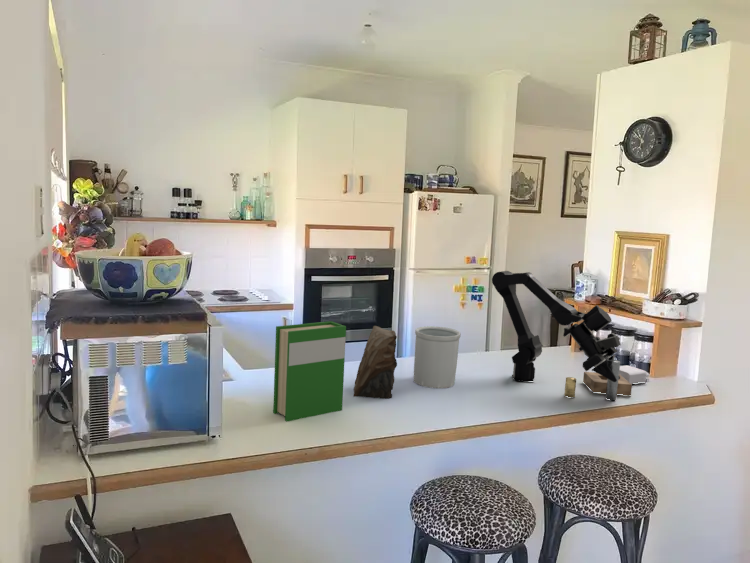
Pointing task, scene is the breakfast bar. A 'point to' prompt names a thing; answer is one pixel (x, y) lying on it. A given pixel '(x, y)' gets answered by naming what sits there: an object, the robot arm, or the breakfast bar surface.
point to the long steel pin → (612, 386)
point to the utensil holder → (436, 356)
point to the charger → (633, 374)
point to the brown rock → (377, 365)
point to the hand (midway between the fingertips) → (617, 380)
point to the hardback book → (309, 369)
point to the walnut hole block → (605, 383)
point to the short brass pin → (570, 387)
